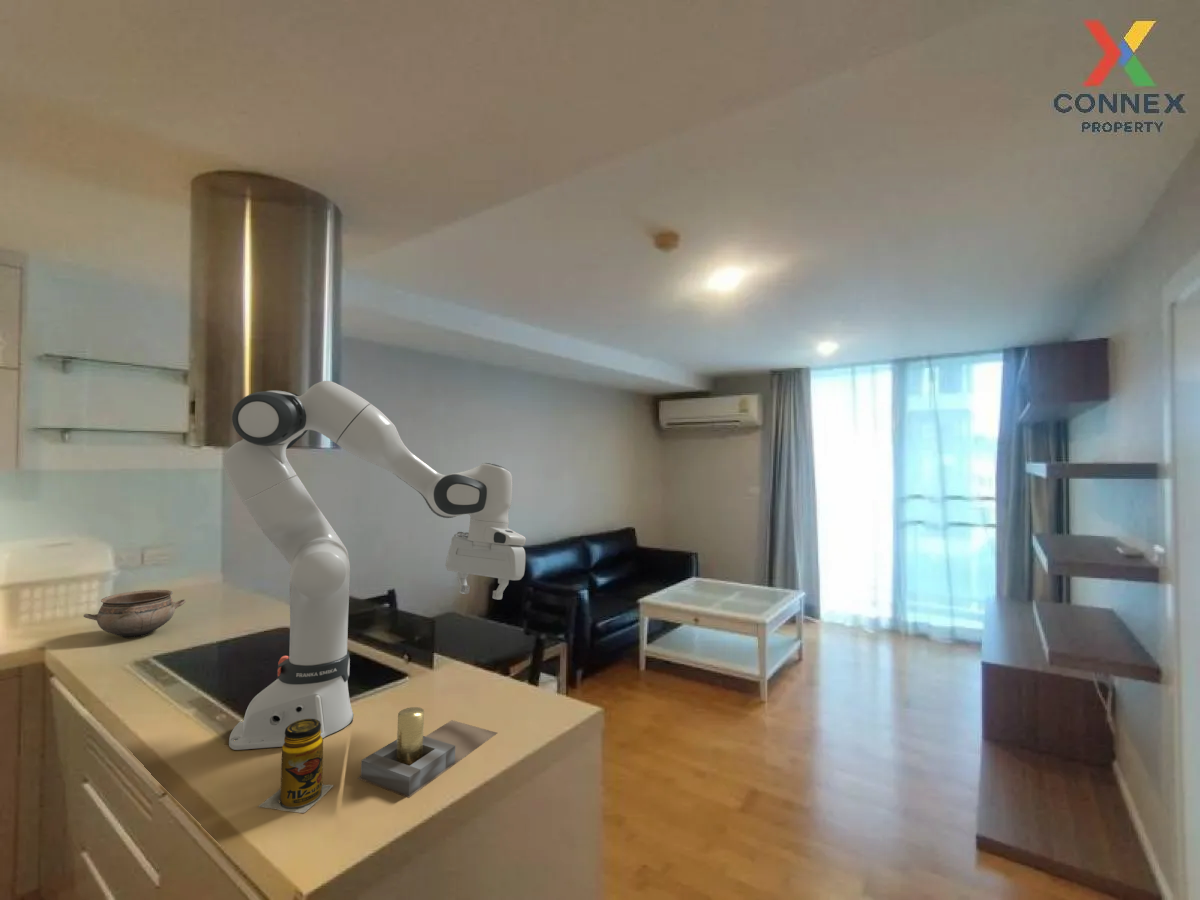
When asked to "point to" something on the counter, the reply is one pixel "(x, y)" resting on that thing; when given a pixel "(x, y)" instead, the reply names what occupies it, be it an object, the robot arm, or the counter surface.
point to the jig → (423, 758)
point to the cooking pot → (135, 612)
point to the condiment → (300, 768)
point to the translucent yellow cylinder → (410, 735)
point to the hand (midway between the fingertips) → (480, 596)
